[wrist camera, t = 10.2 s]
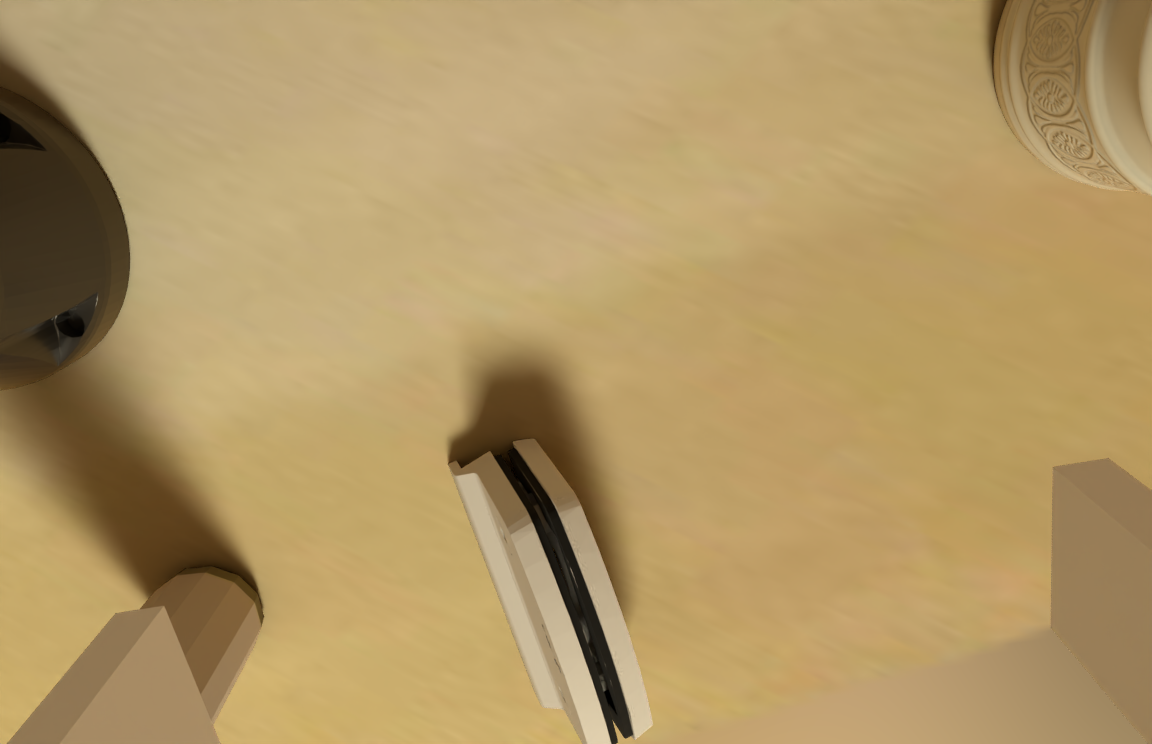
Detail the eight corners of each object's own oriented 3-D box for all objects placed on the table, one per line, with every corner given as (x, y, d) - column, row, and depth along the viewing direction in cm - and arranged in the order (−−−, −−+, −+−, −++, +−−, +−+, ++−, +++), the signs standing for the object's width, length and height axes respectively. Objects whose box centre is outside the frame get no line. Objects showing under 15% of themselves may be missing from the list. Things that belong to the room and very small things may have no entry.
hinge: (445, 457, 47) (486, 531, 38) (524, 425, 48) (583, 489, 39) (535, 695, 52) (590, 810, 43) (605, 661, 53) (673, 767, 44)
